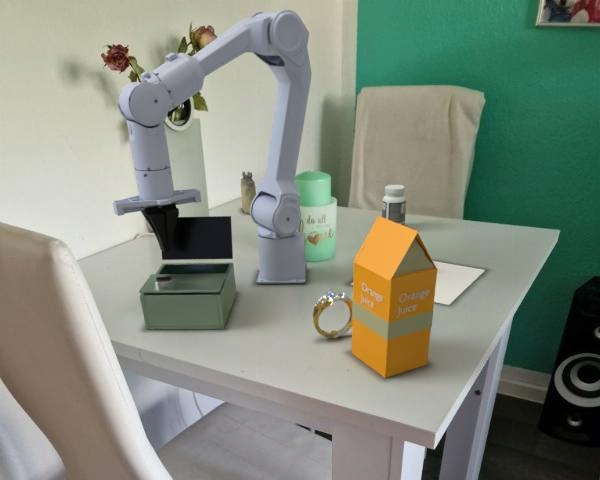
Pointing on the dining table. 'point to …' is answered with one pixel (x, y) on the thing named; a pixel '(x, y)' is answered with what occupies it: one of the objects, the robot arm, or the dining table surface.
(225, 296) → the washer
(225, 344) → the dining table surface
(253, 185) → the brown furry upright figure
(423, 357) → the orange juice
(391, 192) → the pill bottle
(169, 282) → the white disc with bar
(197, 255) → the lid
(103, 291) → the dining table surface
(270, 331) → the dining table surface
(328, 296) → the gold ring
